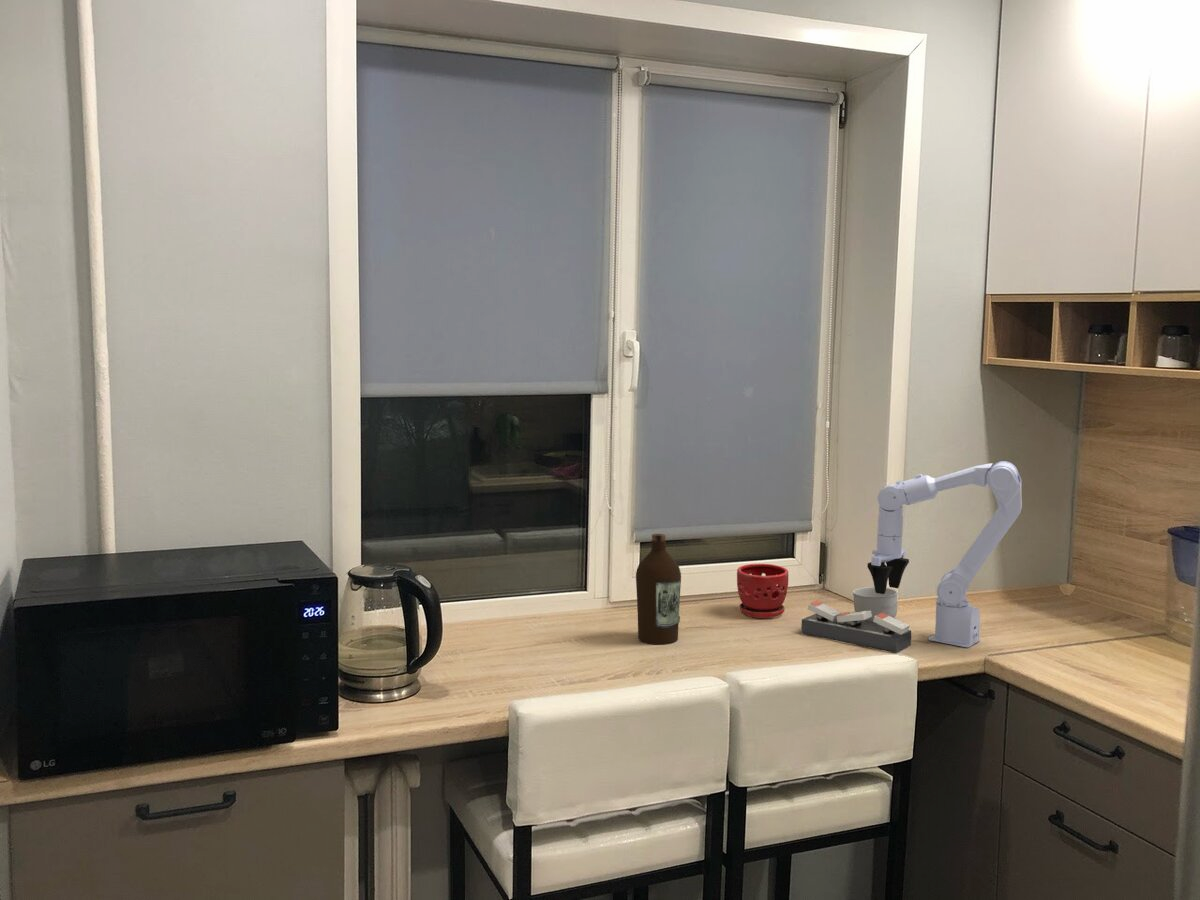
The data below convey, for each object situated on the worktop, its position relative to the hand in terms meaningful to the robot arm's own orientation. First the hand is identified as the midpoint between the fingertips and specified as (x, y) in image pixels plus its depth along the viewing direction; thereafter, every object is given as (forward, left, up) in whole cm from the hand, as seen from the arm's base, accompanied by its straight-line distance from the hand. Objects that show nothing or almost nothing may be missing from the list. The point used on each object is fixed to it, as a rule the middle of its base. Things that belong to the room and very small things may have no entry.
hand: (887, 590), depth 243 cm
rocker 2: (+3, +10, -6) cm, 12 cm away
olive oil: (+39, +40, -11) cm, 57 cm away
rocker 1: (+12, +10, -6) cm, 17 cm away
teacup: (+7, -9, -11) cm, 16 cm away
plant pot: (+32, +5, -11) cm, 34 cm away
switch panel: (+3, +10, -10) cm, 15 cm away
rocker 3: (-5, +10, -6) cm, 13 cm away
